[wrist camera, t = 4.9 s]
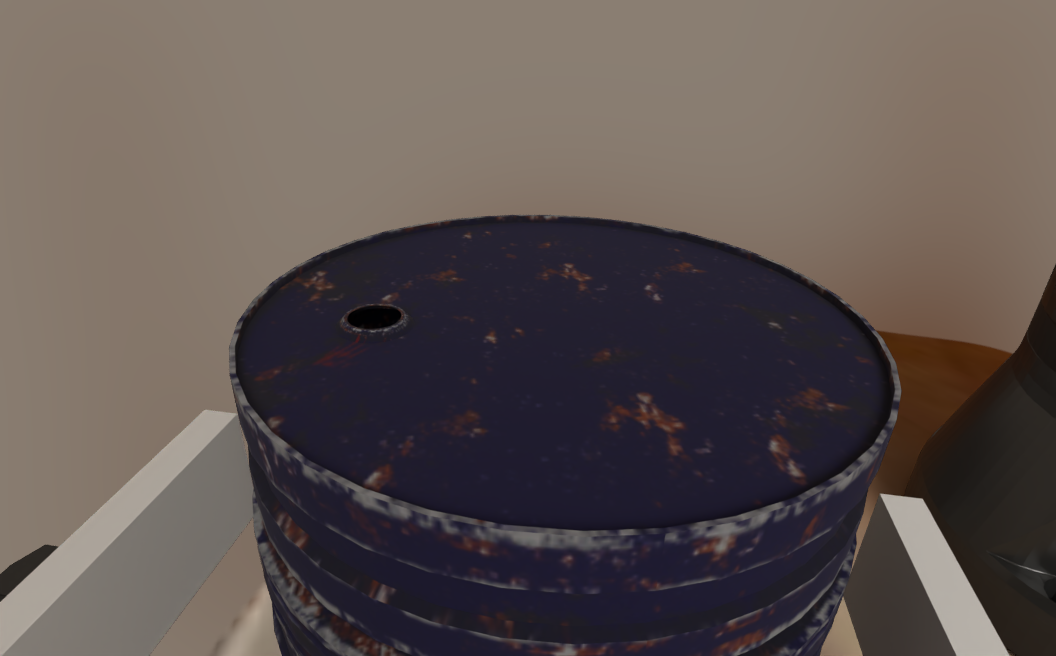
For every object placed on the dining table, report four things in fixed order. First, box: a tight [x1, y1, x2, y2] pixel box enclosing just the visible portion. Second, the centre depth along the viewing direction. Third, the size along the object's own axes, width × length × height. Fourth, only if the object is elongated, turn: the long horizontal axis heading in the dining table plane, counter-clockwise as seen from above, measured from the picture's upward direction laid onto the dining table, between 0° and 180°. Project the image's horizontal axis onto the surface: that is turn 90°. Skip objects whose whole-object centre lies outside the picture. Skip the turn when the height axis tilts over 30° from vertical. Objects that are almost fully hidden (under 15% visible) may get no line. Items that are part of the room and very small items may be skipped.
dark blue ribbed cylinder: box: [229, 215, 901, 656], centre depth 14 cm, size 10×10×15 cm
